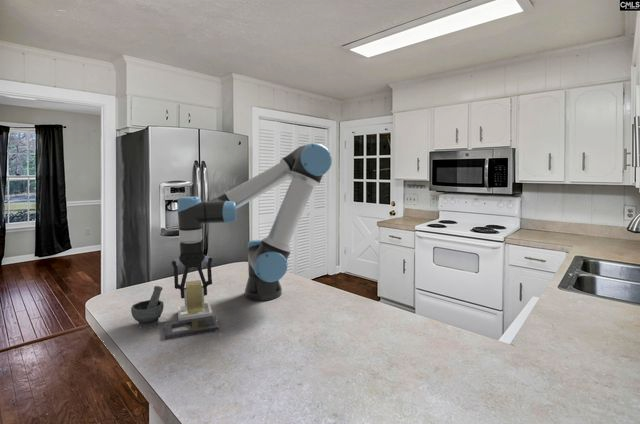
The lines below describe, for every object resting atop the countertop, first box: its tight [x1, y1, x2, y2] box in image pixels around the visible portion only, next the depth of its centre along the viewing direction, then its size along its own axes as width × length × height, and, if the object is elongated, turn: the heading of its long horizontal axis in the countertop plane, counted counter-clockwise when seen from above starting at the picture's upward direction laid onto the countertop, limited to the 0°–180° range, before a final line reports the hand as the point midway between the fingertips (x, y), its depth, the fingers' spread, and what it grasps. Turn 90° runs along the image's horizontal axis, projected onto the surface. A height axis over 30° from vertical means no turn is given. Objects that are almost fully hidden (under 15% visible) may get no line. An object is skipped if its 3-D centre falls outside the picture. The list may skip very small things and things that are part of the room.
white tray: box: [177, 301, 213, 321], centre depth 129 cm, size 11×11×2 cm
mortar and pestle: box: [130, 285, 165, 329], centre depth 121 cm, size 11×9×12 cm
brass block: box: [185, 279, 203, 314], centre depth 128 cm, size 5×5×10 cm
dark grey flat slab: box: [164, 315, 220, 340], centre depth 118 cm, size 16×10×1 cm, turn 112°
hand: (194, 305), depth 128 cm, fingers closed on brass block, 5 cm apart
